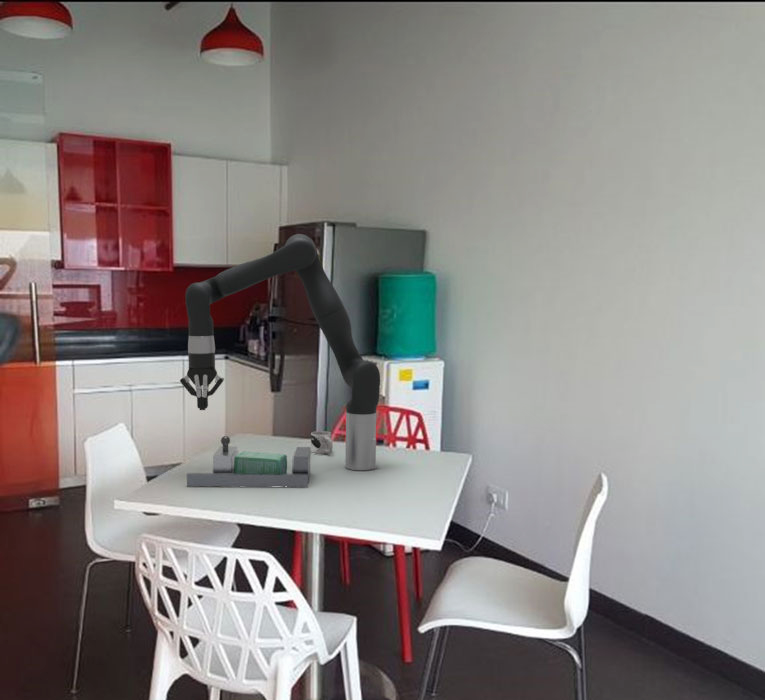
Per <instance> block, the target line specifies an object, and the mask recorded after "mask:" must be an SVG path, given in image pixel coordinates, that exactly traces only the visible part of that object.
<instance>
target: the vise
mask: <svg viewBox="0 0 765 700" xmlns="http://www.w3.org/2000/svg"><path fill="white" fill-rule="evenodd" d="M311 454H312V453H311V446H307V447H306V446H297V447H296V449H295V451H294V452H293V454H292V455H293V456H292V458H291V459H292V460H291V473H287V474H271V473H213V472H188V473H186V487H188V488H196V487H197V486H238V487H237V488H241V487H240V486H246V487H245V488H273V487H272V486H283V487H282V488H296V487H307V488H308V486H309V481H310V476H311ZM267 486H268V487H267ZM269 486H271V487H269ZM285 486H287V487H285ZM197 488H198V487H197Z"/></svg>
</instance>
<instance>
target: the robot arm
mask: <svg viewBox="0 0 765 700" xmlns="http://www.w3.org/2000/svg"><path fill="white" fill-rule="evenodd" d="M293 271H296V273H297V275H298V276H299V279H300V280H301V282H302V284H303V286H304V289H305V293H306V296H307V299H308V303H309V305H310V309H311V311H312V314H313V316H314V318H315V320H316V322H317V324H318V327H319V328H320V330H321V331H322V333H323V335H324V337H325V340H326V341H327V343H328V346H329V347H330V349H331V351H332V352H333V354H334V357H335V360H336V362H337V365H338V369H339V371H340V373H341V376H342V378H343V380H344V383H345V384H346V385H347V386H348V387H350V388H351V389H352V390H351V391H352V392H351V399H350V400H349V401H347V403H346V406H345V407H346V408H345V409H346V411H345V412H346V413H345V415H346V417H345V418H346V419H345V459H344V460H345V461H344V462H345V465H344V467H345V469H348V470H352V471H369V470H376V466H377V465H376V464H377V461H376V458H377V456H376V455H377V428H376V427H377V407H378V404H379V401H380V392H381V391H380V390H381V374H380V370H379V367H378V366H377V364H375V362H372V361H369V360H365V359H363V357H362V356H361V354H360V353H359V350H358V349H357V347H356V345H355V343H354V340H353V332H352V331H353V330H352V325H351V319H350V316H349V314H348V312H347V310H346V308H345V305H344V303H343V302H342V299H341V298H340V296H339V294H338V291H336V289H335V287H334V286H333V284H332V282H331V280H330V279H329V277H328V275H327V274H326V272H325V270H324V267H323V266H322V262H321V259H320V256H319V254H318V250H317V247H316V244H315V242H314V240H313V239H312V238H311V237H309V236H308V235H306V234H303V233H297V234H293V235H292V236H290V237H288V239H287V240H286V242H285V245H284V246H281V247H280V248H279V249H277V250H275V251H274V252H271V253H269V254H268V255H264V256H262V257H260V258H256V259H254V260H251V261H246V262H242V263H240V264H238V265H235V266H233V267H230V268H228V269H225V270H224V271H221V272H220V273H218V274H217V275H216V276H214V277H211V278H208V279H206V280H203V281H200V282H194V283H191V284H190V285H189V286H188V287H187V288H186V291H185V297H184V298H185V307H186V313H187V317H188V318H187V319H188V342H187V352H188V355H187V356H188V357H187V358H188V370H187V373H186V375H185V376H184V377H181V378H180V380H179V382H180V384H181V385H182V386H183V387H184V388H185V389H186V391H187V392H189V394H190V396H194V397H196V404H197V409H199V411H206V409H208V407H209V396H213V395H214V394H215V393H216V392H217V390H218V389H219V387H220V386H221V385H222V383H224V381H225V378H224V377H221V376H220V375H219V374H218V371H217V369H216V352H215V351H216V344H215V336H214V332H215V331H214V319H213V317H212V316H211V305H212V304H213V303H217V302H218V301H220V300H222V299H223V298H225V297H228V296H231V295H233V294H236V293H238V292H239V293H240V292H241V291H243V290H246V289H248V288H250V287H252V286H254V285H257V284H258V283H261V282H263V281H265V280H268V279H270V278H273V277H276V276H278V275H282V274H286V273H290V272H293ZM213 381H214V383H215V384H214V385H213V386H212V387H211V389H210V385H211V384H212V383H213ZM190 382H192V383H193V385H194V387H195V388H194V387H193V386H192V385H191V383H190ZM209 389H210V390H209Z"/></svg>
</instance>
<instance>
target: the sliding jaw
mask: <svg viewBox="0 0 765 700" xmlns="http://www.w3.org/2000/svg"><path fill="white" fill-rule="evenodd" d="M220 443H221V446H219V447H218V449H217V450H216V452H214V453H213V455H212V473H235V456H236V455H238V454H240V451H239V450H238V446H229V444H230V443H231V438H230V437H229V436H226V435H224V436H222V437H221V439H220Z"/></svg>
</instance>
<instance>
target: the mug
mask: <svg viewBox="0 0 765 700" xmlns="http://www.w3.org/2000/svg"><path fill="white" fill-rule="evenodd" d="M310 447H311V452H312V453H315V454H326V455H329V454H328V453H330V454H332V453H333V440H332V432H331V431H325V430H318V431H317V430H316V431H312V432H311V433H310ZM312 453H311V454H312ZM315 454H314V455H315Z"/></svg>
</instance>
